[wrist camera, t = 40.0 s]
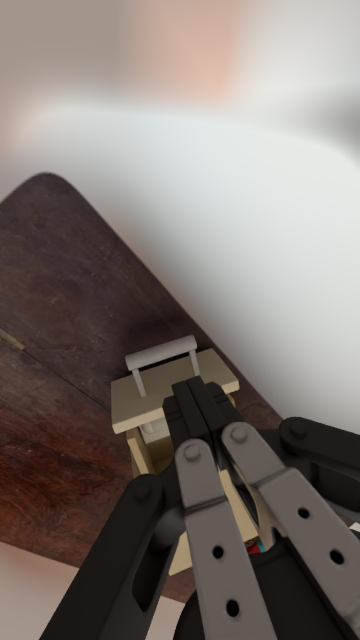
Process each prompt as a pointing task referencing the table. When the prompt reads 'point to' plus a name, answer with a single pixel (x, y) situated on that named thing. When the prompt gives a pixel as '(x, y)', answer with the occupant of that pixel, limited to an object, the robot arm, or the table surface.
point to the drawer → (160, 395)
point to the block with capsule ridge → (154, 430)
